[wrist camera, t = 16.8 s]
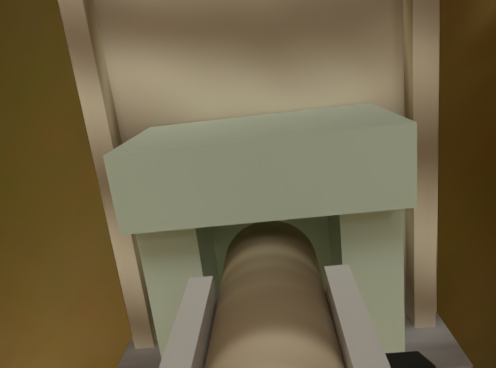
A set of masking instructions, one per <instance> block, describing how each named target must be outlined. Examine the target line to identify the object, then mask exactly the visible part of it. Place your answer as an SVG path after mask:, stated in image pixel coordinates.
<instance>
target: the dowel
mask: <svg viewBox="0 0 496 368" xmlns="http://www.w3.org/2000/svg"><path fill="white" fill-rule="evenodd" d="M204 368H345V364H344V360H343V356H342V353H341V349H340V345H339V341H338V337H337V334H336V330H335V326H334V322H333V318H332V315H331V311H330V307H329V303H328V300H327V296H326V291H325V288H324V284H323V280H322V276H321V273H320V269H319V265H318V261H317V257H316V254H315V250H314V247H313V245H312V243H311V242H310V240H309V238H308V237H307V236H306V235H305V234H304V233H303V232H302V231H301V230H299V229H298V228H296V227H295V226H293V225H291V224H288V223H285V222H281V221H267V222H256V223H253V224H251V225H249V226H247V227H245V228H244V229H242V230H241V231H240V232H239V233H238V234H237V235H236V236H235V237H234V238H233V239H232V241H231V243H230V245H229V247H228V249H227V253H226V258H225V263H224V268H223V273H222V278H221V283H220V288H219V294H218V299H217V304H216V309H215V314H214V319H213V324H212V330H211V335H210V340H209V345H208V350H207V355H206V360H205V365H204Z"/></svg>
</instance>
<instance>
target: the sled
mask: <svg viewBox="0 0 496 368" xmlns="http://www.w3.org/2000/svg"><path fill="white" fill-rule="evenodd" d="M103 159H104V164H105V168H106V173H107V178H108V182H109V187H110V192H111V196H112V201H113V206H114V210H115V215H116V219H117V224H118V229H119V233H120V235H127V234H136V237H137V242H138V247H139V252H140V257H141V262H142V267H143V272H144V277H145V281H146V286H147V291H148V296H149V301H150V306H151V311H152V316H153V321H154V326H155V331H156V336H157V340H158V345H159V350H160V355H161V360H162V357H163V354H164V351H165V348H166V345H167V342H168V339H169V336H170V333H171V330H172V327H173V325H174V322H175V319H176V316H177V313H178V310H179V307H180V304H181V301H182V298H183V295H184V292H185V289H186V286H187V284H188V281H189V278H194V277H205V276H213V280H214V287H215V294H216V300H217V299H218V294H219V288H220V283H221V278H222V273H223V268H224V263H225V258H226V253H227V249H228V247H229V245H230V243H231V241H232V239H233V238H234V237H235V236H236V235H237V234H238V233H239V232H240V231H241V230H242V229H244V228H245V227H247V226H249V225H251V224H253V223H256V222H267V221H281V222H285V223H288V224H291V225H293V226H295V227H296V228H298V229H299V230H301V231H302V232H303V233H304V234H305V235H306V236H307V237H308V238H309V240H310V242H311V243H312V245H313V247H314V250H315V254H316V257H317V261H318V265H319V269H320V273H321V276H322V280H323V284H324V288H325V291H326V286H325V272H324V266H334V265H345V264H349V267H350V269H351V272H352V274H353V276H354V279H355V281H356V284H357V286H358V289H359V291H360V293H361V296H362V298H363V301H364V303H365V306H366V308H367V311H368V313H369V315H370V318H371V320H372V323H373V325H374V328H375V330H376V332H377V335H378V337H379V340H380V342H381V345H382V347H383V349H384V352H385V353H396V352H405V313H404V236H403V209H407V208H417V122H415V121H412V120H410V119H408V118H405V117H403V116H401V115H398V114H396V113H394V112H391V111H389V110H387V109H384V108H382V107H380V106H377V105H375V104H373V103H363V104H354V105H345V106H336V107H327V108H317V109H308V110H299V111H290V112H281V113H272V114H263V115H254V116H245V117H236V118H227V119H218V120H209V121H200V122H190V123H181V124H172V125H163V126H154V127H149V128H148V129H146V130H144V131H143V132H141V133H140V134H138V135H136V136H135V137H133V138H131V139H130V140H128V141H126V142H125V143H123V144H121V145H120V146H118V147H117V148H115V149H113V150H112V151H110V152H108V153H107V154H105V155H103Z"/></svg>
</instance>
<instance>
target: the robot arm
mask: <svg viewBox="0 0 496 368" xmlns="http://www.w3.org/2000/svg"><path fill="white" fill-rule="evenodd" d="M324 272H325V286H326V296H327V300H328V303H329V307H330V311H331V315H332V318H333V322H334V326H335V330H336V334H337V337H338V341H339V345H340V349H341V353H342V356H343V360H344V364H345V368H436V366H435V365H434V364H433V363H432V362H431V361H429V360H428V359H427V358H426V357H425V356H423V355H422V354H421V353H420V352H419V351H410V352H396V353H385V352H384V349H383V347H382V345H381V342H380V340H379V337H378V335H377V332H376V330H375V328H374V325H373V323H372V320H371V318H370V315H369V313H368V311H367V308H366V306H365V303H364V301H363V298H362V296H361V293H360V291H359V289H358V286H357V284H356V281H355V279H354V276H353V274H352V272H351V269H350V267H349V264H345V265H334V266H324ZM216 304H217V300H216V294H215V287H214V280H213V276H205V277H194V278H189V281H188V284H187V286H186V289H185V292H184V295H183V298H182V301H181V304H180V307H179V310H178V313H177V316H176V319H175V322H174V325H173V327H172V330H171V333H170V336H169V339H168V342H167V345H166V348H165V351H164V354H163V357H162V360H161V363H160V366H159V368H204V365H205V360H206V355H207V350H208V345H209V340H210V335H211V330H212V324H213V319H214V314H215V309H216Z"/></svg>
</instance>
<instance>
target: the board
mask: <svg viewBox="0 0 496 368" xmlns="http://www.w3.org/2000/svg"><path fill="white" fill-rule="evenodd" d="M58 3H59V8H60V12H61V17H62V21H63V26H64V30H65V35H66V39H67V44H68V48H69V53H70V57H71V62H72V66H73V71H74V75H75V80H76V84H77V89H78V93H79V98H80V102H81V107H82V111H83V116H84V120H85V125H86V129H87V134H88V138H89V143H90V147H91V152H92V156H93V161H94V165H95V170H96V174H97V179H98V183H99V188H100V192H101V197H102V201H103V206H104V210H105V215H106V219H107V224H108V228H109V233H110V237H111V242H112V246H113V251H114V255H115V260H116V264H117V269H118V273H119V278H120V282H121V287H122V291H123V296H124V300H125V305H126V309H127V314H128V318H129V323H130V327H131V332H132V337H131V340H130V342H129V344H128V346H127V348H126V350H125V352H124V354H123V356H122V359H121V361H120V363H119V365H118V367H117V368H159V366H160V363H161V355H160V350H159V345H158V340H157V336H156V331H155V326H154V321H153V316H152V311H151V306H150V301H149V296H148V291H147V286H146V281H145V277H144V272H143V267H142V262H141V257H140V252H139V247H138V242H137V237H136V234H127V235H120V233H119V229H118V224H117V219H116V215H115V210H114V206H113V201H112V196H111V192H110V187H109V182H108V178H107V173H106V168H105V164H104V159H103V155H105V154H107V153H108V152H110V151H112V150H113V149H115V148H117V147H118V146H120V145H121V144H123V143H125V142H126V141H128V140H130V139H131V138H133V137H135V136H136V135H138V134H140V133H141V132H143V131H144V130H146V129H148V128H149V127H154V126H163V125H172V124H181V123H190V122H200V121H209V120H218V119H227V118H236V117H245V116H254V115H263V114H272V113H281V112H290V111H299V110H308V109H317V108H327V107H336V106H345V105H354V104H363V103H373V104H375V105H377V106H380V107H382V108H384V109H387V110H389V111H391V112H394V113H396V114H398V115H401V116H403V117H405V118H408V119H410V120H412V121H415V122H417V208H407V209H403V236H404V313H405V352H410V351H419V352H420V353H421V354H422V355H423V356H425V357H426V358H427V359H428V360H429V361H431V362H432V363H433V364H434V365H435V366H436V368H473V365H472V364H471V362H470V361H469V359H468V358H467V356H466V355H465V353H464V352H463V350H462V349H461V347H460V346H459V344H458V343H457V341H456V340H455V338H454V337H453V335H452V334H451V332H450V331H449V329H448V328H447V327H446V325H445V324H444V322H443V321H442V319H441V318H440V316H439V315H438V313H437V312H436V310H437V220H438V131H439V42H440V0H58Z"/></svg>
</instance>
